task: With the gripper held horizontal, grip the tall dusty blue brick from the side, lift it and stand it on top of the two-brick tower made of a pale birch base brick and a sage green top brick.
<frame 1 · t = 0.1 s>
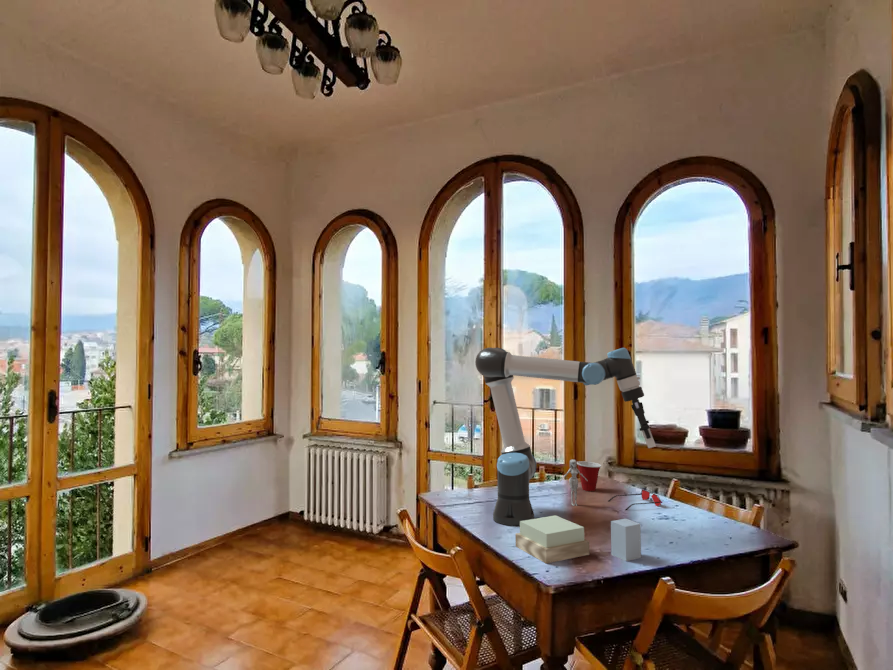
hand: (651, 444, 198), 28 cm above the table, tool tilted 20°, fingers open, 13 cm apart
top brick: (551, 537, 168), resting on base brick
human figurine: (573, 505, 219), on the table
base brick: (551, 550, 167), on the table
glasses: (634, 505, 219), on the table
tall brick: (626, 556, 162), on the table
plastic cup: (589, 490, 243), on the table
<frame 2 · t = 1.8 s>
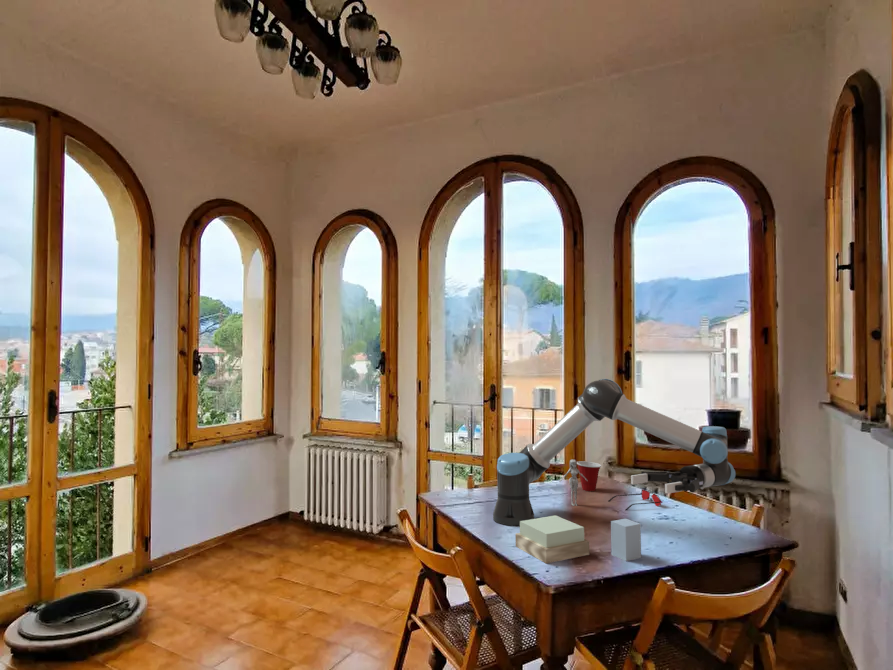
hand: (648, 484, 168), 20 cm above the table, tool horizontal, fingers open, 13 cm apart
nothing on the table moved.
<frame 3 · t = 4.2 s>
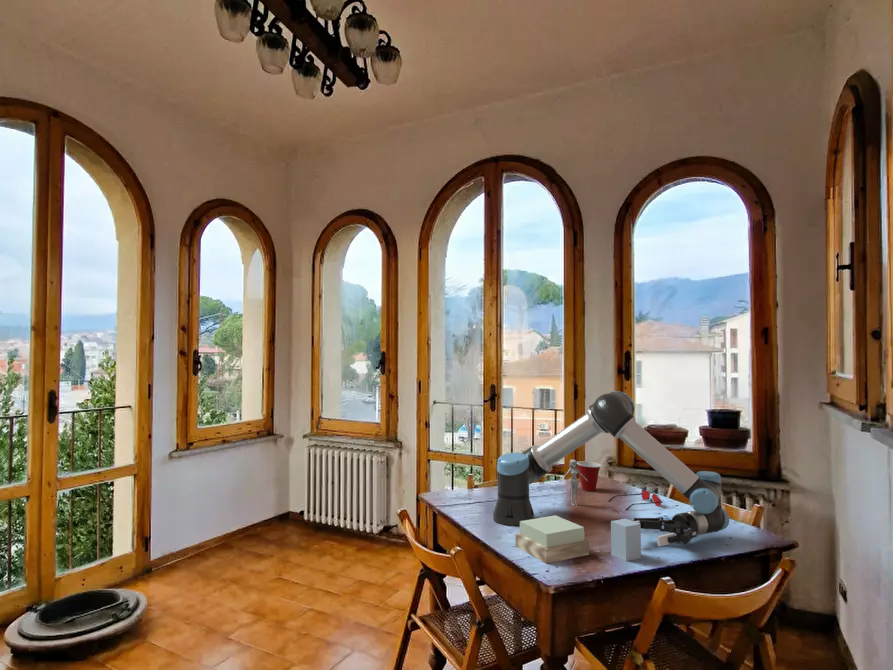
hand: (640, 534, 165), 6 cm above the table, tool horizontal, fingers open, 13 cm apart
nothing on the table moved.
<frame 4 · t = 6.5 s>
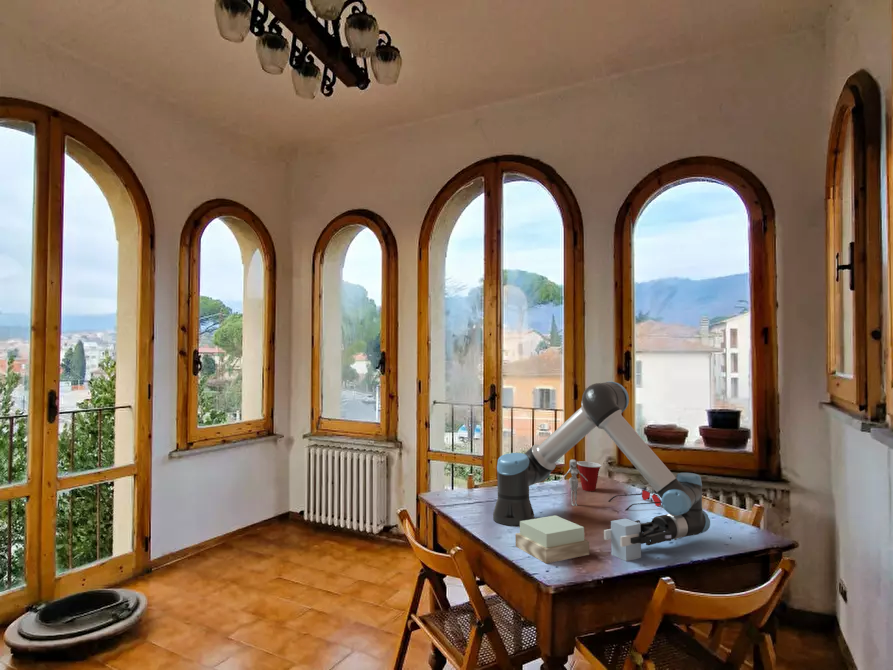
hand: (612, 538, 160), 6 cm above the table, tool horizontal, fingers closed on tall brick, 6 cm apart
tall brick: (626, 556, 162), on the table, touching gripper
everything else where it was.
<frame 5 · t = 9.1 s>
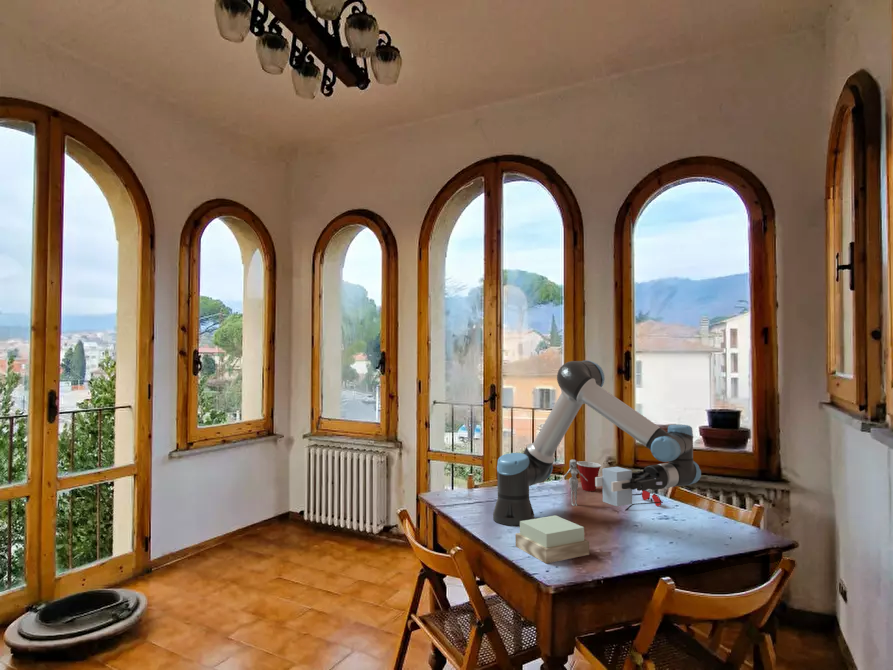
hand: (604, 484, 161), 22 cm above the table, tool horizontal, fingers closed on tall brick, 6 cm apart
tall brick: (617, 502, 163), point 16 cm above the table, touching gripper
everything else where it was.
when the fingers open (15 cm above the table, at t = 11.8 s): tall brick stays where it is, resting on top brick.
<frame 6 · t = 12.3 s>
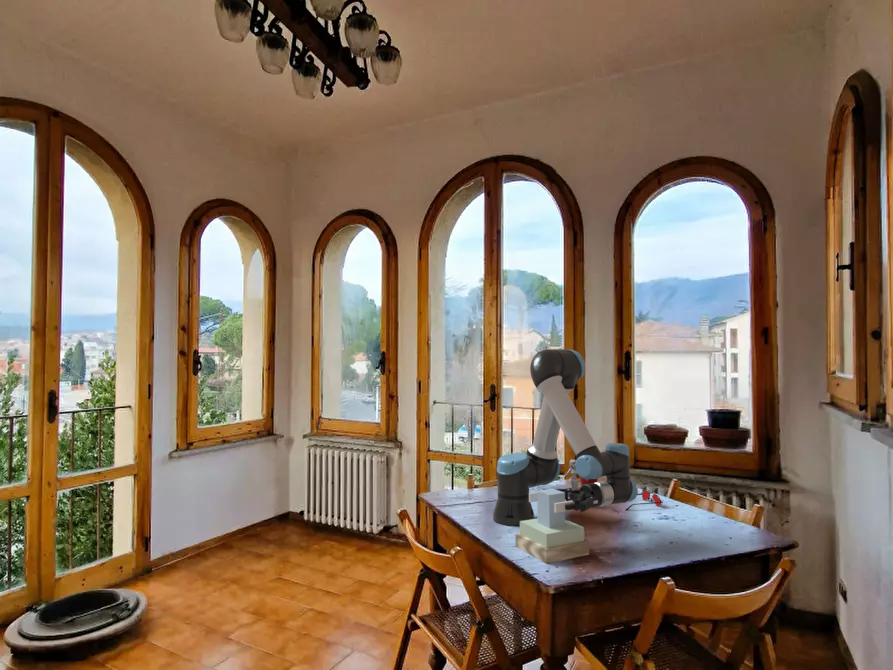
hand: (541, 502, 167), 15 cm above the table, tool horizontal, fingers open, 12 cm apart
tall brick: (551, 524, 168), point 8 cm above the table, touching top brick
everything else where it was.
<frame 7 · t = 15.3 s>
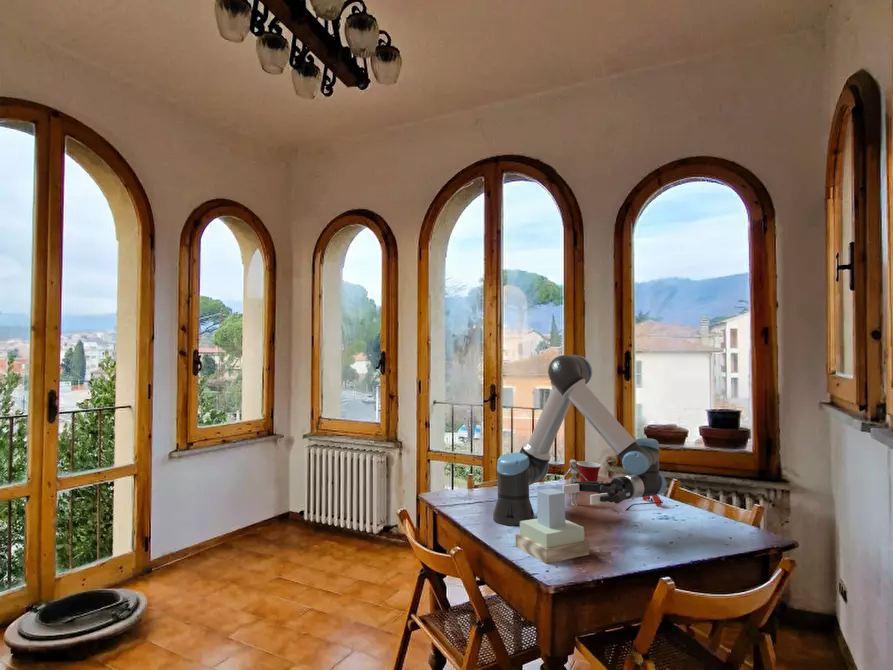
hand: (576, 494, 173), 16 cm above the table, tool horizontal, fingers open, 13 cm apart
nothing on the table moved.
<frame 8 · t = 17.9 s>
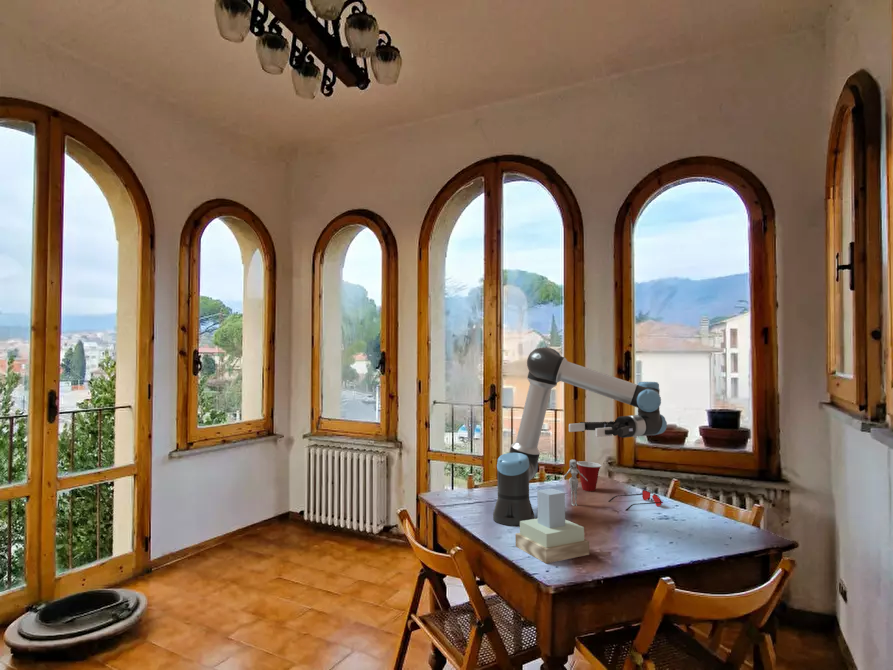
hand: (582, 430, 183), 35 cm above the table, tool horizontal, fingers open, 13 cm apart
nothing on the table moved.
at the end: tall brick inside the target area on the base brick (0.0 cm from its centre), point 8.0 cm above the base brick's base; tall brick tilted 0°; the gripper is holding nothing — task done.
